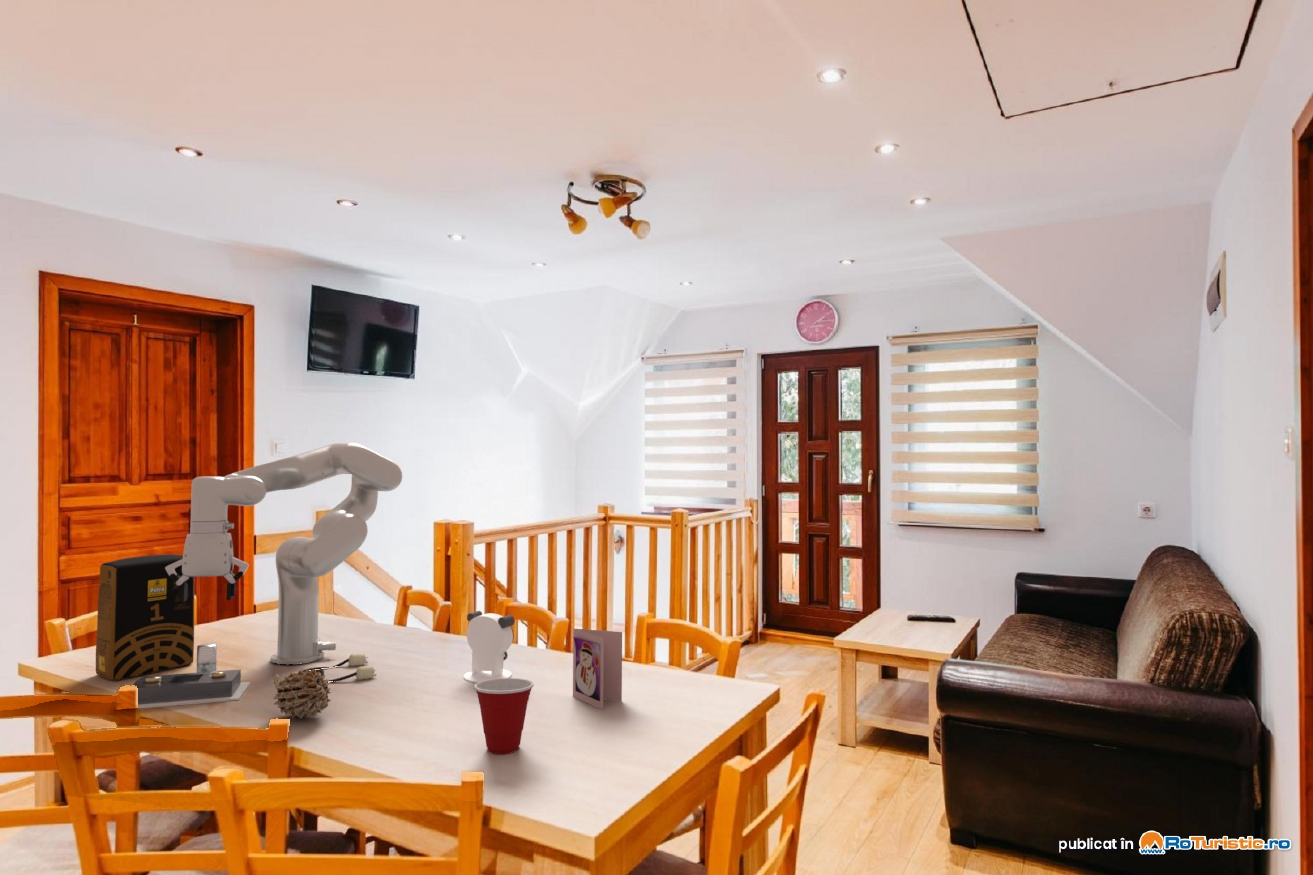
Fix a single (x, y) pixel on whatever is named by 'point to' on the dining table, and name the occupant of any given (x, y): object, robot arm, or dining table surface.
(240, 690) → the mat
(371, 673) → the cable
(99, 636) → the black product box
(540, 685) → the dining table surface
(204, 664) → the pin
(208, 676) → the gray slotted block
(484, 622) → the panda figurine
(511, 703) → the plastic cup
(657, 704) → the dining table surface
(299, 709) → the pine cone
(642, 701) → the dining table surface
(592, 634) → the greeting card
